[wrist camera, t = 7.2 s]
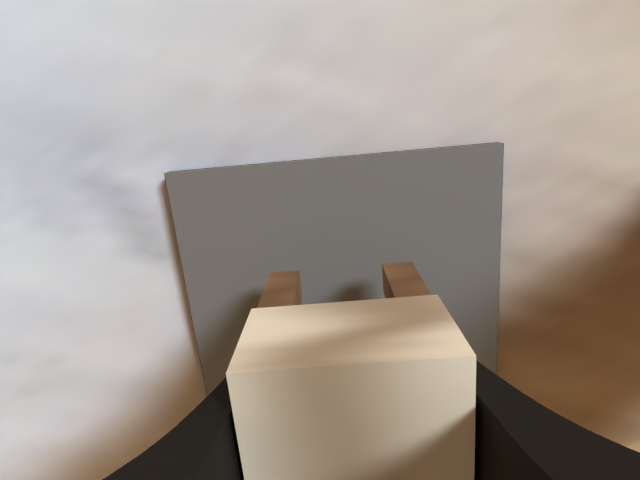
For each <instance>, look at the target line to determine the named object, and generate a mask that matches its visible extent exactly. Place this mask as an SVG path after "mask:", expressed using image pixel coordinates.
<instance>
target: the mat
mask: <svg viewBox="0 0 640 480" xmlns="http://www.w3.org/2000/svg"><path fill="white" fill-rule="evenodd" d="M503 156H504V143H499V142H495V143H483V144H472V145H461V146H450V147H439V148H427V149H416V150H405V151H394V152H383V153H372V154H360V155H349V156H338V157H327V158H316V159H304V160H293V161H282V162H271V163H260V164H248V165H237V166H226V167H215V168H204V169H192V170H181V171H170V172H167V173H164V175H165V180H166V185H167V190H168V196H169V201H170V206H171V211H172V217H173V222H174V227H175V232H176V237H177V243H178V248H179V253H180V258H181V263H182V269H183V274H184V279H185V284H186V290H187V295H188V300H189V305H190V310H191V316H192V321H193V326H194V331H195V337H196V342H197V347H198V352H199V357H200V363H201V368H202V373H203V378H204V384H205V389H206V394H207V396H208V395H209V394H210V393H211V392H212V391H213V390H214V389H215V388H216V387H217V386H218V385H219V384H220V383H221V382H222V381H223V379H224V378H225V377H226V372H227V369H228V367H229V364H230V361H231V359H232V356H233V354H234V351H235V349H236V346H237V344H238V341H239V339H240V336H241V334H242V331H243V329H244V326H245V323H246V321H247V318H248V316H249V313H250V311H251V309H253V308H257V306H258V304H259V301H260V298H261V295H262V293H263V290H264V287H265V284H266V282H267V279H268V276H269V274H270V273H271V272H283V271H296V270H299V274H300V283H301V292H302V302H301V305H305V304H318V303H332V302H345V301H358V300H371V299H384V298H385V295H384V292H383V276H382V264H384V263H397V262H410V261H412V263H413V264H414V266H415V268H416V269H417V271H418V273H419V274H420V276H421V278H422V279H423V281H424V283H425V284H426V286H427V288H428V289H429V291H430V293H431V294H432V295H437V294H438V296H439V298H440V299H441V301H442V302H443V304H444V305H445V307H446V309H447V310H448V312H449V313H450V315H451V317H452V318H453V320H454V321H455V323H456V324H457V326H458V328H459V329H460V331H461V332H462V334H463V336H464V337H465V339H466V340H467V342H468V343H469V345H470V347H471V348H472V350H473V351H474V353H475V355H476V360H477V361H478V362H480V363H481V364H482V365H484V366H485V367H486V368H488V369H489V370H490V371H492V372H493V373H494V374H496V375H497V344H498V313H499V281H500V250H501V219H502V187H503Z"/></svg>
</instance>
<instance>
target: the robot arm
mask: <svg viewBox="0 0 640 480" xmlns="http://www.w3.org/2000/svg"><path fill="white" fill-rule="evenodd" d="M103 480H244V475H243V470H242V464H241V458H240V452H239V447H238V441H237V435H236V429H235V424H234V418H233V412H232V406H231V401H230V395H229V389H228V383H227V378H226V377H225V378H224V379H223V381H222V382H221V383H220V384H219V385H218V386H217V387H216V388H215V389H214V390H213V391H212V392H211V393H210V394H209V395H208V396H207V397H206V398H205V399H204V400H203V401H202V402H201V403H200V404H199V405H198V406H197V407H196V408H195V409H194V410H193V411H192V412H191V413H190V414H189V415H188V416H187V417H185V418H184V419H183V420H182V421H181V422H180V423H179V424H178V425H177V426H176V427H175V428H173V429H172V430H171V431H170V432H169V433H167V434H166V435H165V436H164V437H163V438H161V439H160V440H159V441H157V442H156V443H155V444H154V445H152V446H151V447H150V448H148V449H147V450H146V451H144V452H143V453H142V454H140V455H139V456H138V457H136V458H135V459H133V460H132V461H130V462H129V463H127V464H126V465H124V466H123V467H121V468H120V469H118V470H117V471H115V472H114V473H112V474H111V475H109V476H108V477H106V478H105V479H103ZM474 480H640V453H639V452H637V451H634V450H631V449H629V448H627V447H624V446H622V445H620V444H618V443H615V442H613V441H611V440H609V439H606V438H604V437H602V436H600V435H597V434H595V433H593V432H591V431H589V430H587V429H585V428H583V427H581V426H579V425H577V424H575V423H573V422H571V421H569V420H568V419H566V418H564V417H562V416H560V415H558V414H556V413H554V412H553V411H551V410H549V409H548V408H546V407H544V406H542V405H541V404H539V403H538V402H536V401H534V400H533V399H531V398H530V397H528V396H526V395H525V394H523V393H522V392H520V391H519V390H517V389H516V388H514V387H513V386H511V385H510V384H508V383H507V382H506V381H504V380H503V379H501V378H500V377H499V376H497V375H496V374H494V373H493V372H492V371H490V370H489V369H488V368H486V367H485V366H484V365H482V364H481V363H480V362H478V361H477V360H476V411H475V472H474Z"/></svg>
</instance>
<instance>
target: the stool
mask: <svg viewBox="0 0 640 480" xmlns="http://www.w3.org/2000/svg"><path fill="white" fill-rule="evenodd" d="M382 276H383V292H384V295H385V298H384V299H371V300H358V301H345V302H332V303H318V304H305V305H301V302H302V292H301V283H300V274H299V270H296V271H283V272H271V273H270V274H269V276H268V279H267V282H266V284H265V287H264V290H263V293H262V295H261V298H260V301H259V304H258V306H257V308H253V309H251V311H250V313H249V316H248V318H247V321H246V323H245V326H244V329H243V331H242V334H241V336H240V339H239V341H238V344H237V346H236V349H235V351H234V354H233V356H232V359H231V361H230V364H229V367H228V369H227V372H226V378H227V383H228V389H229V395H230V401H231V406H232V412H233V418H234V424H235V429H236V435H237V441H238V447H239V452H240V458H241V464H242V470H243V475H244V480H474V472H475V411H476V355H475V353H474V351H473V350H472V348H471V347H470V345H469V343H468V342H467V340H466V339H465V337H464V336H463V334H462V332H461V331H460V329H459V328H458V326H457V324H456V323H455V321H454V320H453V318H452V317H451V315H450V313H449V312H448V310H447V309H446V307H445V305H444V304H443V302H442V301H441V299H440V298H439V296H438V294H437V295H432V294H431V293H430V291H429V289H428V288H427V286H426V284H425V283H424V281H423V279H422V278H421V276H420V274H419V273H418V271H417V269H416V268H415V266H414V264H413V263H412V261H410V262H397V263H384V264H382Z"/></svg>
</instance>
